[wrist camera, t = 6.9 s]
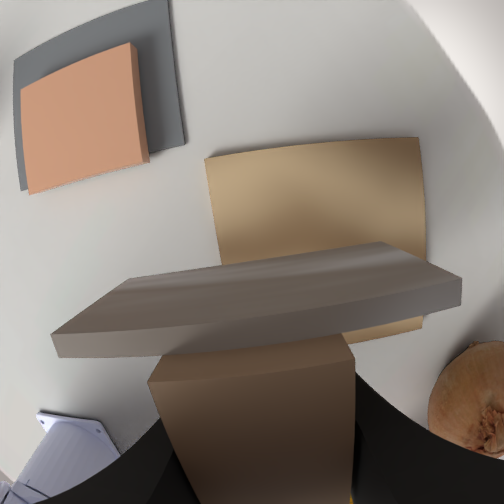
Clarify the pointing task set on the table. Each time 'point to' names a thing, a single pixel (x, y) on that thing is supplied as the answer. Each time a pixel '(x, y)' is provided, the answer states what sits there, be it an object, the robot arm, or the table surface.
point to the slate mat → (104, 38)
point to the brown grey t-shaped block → (261, 361)
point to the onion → (471, 400)
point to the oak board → (321, 203)
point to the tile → (84, 120)
